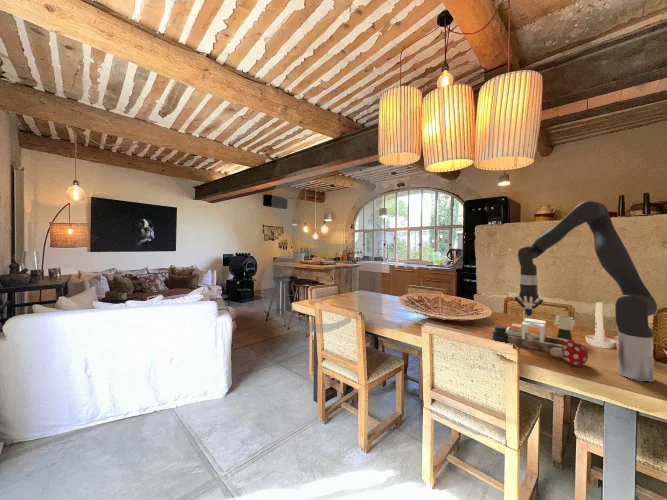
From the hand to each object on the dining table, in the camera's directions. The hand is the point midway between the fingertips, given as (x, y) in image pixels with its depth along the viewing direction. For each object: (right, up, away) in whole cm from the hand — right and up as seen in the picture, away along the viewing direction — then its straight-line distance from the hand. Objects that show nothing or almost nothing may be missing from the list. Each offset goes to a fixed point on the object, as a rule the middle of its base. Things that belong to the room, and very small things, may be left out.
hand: (528, 315), depth 144 cm
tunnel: (+2, -11, -1) cm, 11 cm away
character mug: (+23, -15, +5) cm, 28 cm away
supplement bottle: (-21, -16, -8) cm, 27 cm away
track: (+2, -15, -1) cm, 15 cm away
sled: (-4, -11, +4) cm, 12 cm away
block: (-4, -11, +3) cm, 12 cm away
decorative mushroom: (+2, -16, -21) cm, 27 cm away
